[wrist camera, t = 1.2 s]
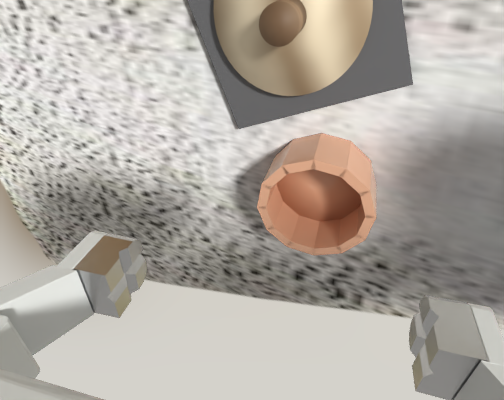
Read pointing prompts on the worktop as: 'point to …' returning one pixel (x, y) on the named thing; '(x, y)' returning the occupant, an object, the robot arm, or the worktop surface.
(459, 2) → the worktop surface
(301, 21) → the lid
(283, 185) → the bowl
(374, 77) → the mat
